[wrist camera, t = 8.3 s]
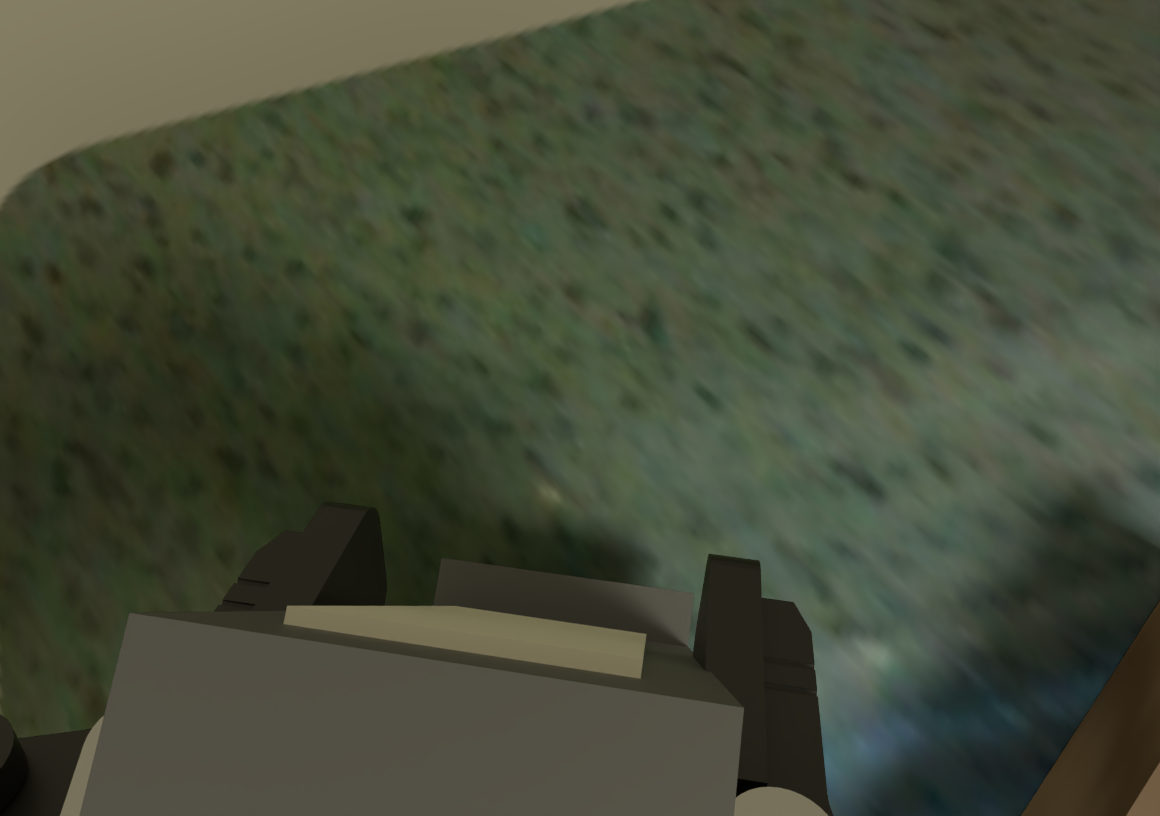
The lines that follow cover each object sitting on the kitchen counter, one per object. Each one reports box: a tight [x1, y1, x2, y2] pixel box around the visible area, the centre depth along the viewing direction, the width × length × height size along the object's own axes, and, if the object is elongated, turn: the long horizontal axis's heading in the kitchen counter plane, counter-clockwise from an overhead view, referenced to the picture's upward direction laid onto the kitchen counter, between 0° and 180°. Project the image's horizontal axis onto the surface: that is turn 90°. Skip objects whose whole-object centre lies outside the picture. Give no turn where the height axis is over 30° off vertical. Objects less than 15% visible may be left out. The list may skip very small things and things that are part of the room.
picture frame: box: [79, 558, 744, 816], centre depth 12 cm, size 4×5×11 cm
